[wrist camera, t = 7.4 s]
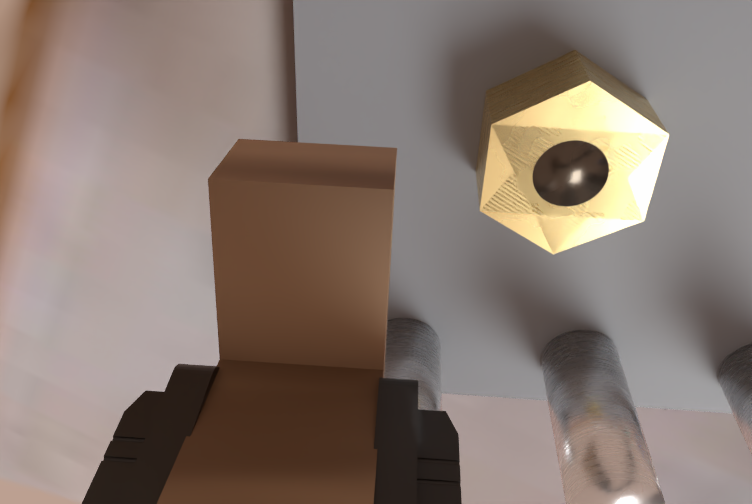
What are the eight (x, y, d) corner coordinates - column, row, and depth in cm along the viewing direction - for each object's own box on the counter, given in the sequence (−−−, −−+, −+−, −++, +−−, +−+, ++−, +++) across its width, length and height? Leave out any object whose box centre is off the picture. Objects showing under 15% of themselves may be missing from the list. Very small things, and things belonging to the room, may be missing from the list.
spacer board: (288, -351, 17) (280, -356, 17) (1316, -316, 17) (1363, -320, 16) (309, 367, 31) (306, 383, 30) (872, 405, 30) (884, 424, 29)
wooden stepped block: (239, 138, 14) (34, 403, 6) (397, 147, 13) (372, 426, 6) (255, 525, 18) (147, 940, 11) (375, 533, 18) (346, 958, 11)
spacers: (386, -299, 17) (364, -325, 11) (1123, -271, 16) (1492, -285, 11) (365, 370, 30) (349, 518, 24) (782, 399, 29) (869, 558, 23)
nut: (491, 45, 22) (498, 75, 20) (659, 53, 21) (683, 86, 19) (470, 208, 25) (474, 249, 23) (615, 217, 25) (632, 259, 23)
